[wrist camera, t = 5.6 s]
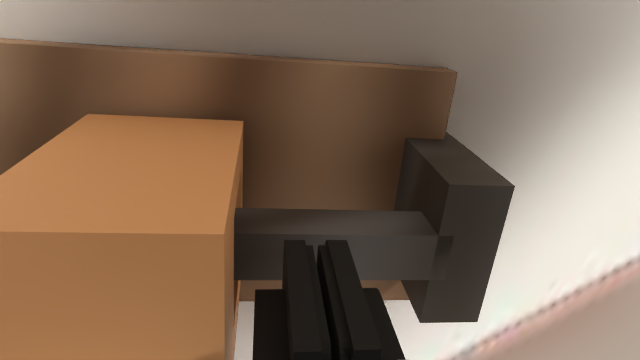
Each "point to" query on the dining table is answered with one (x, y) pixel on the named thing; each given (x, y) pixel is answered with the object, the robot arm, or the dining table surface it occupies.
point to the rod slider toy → (297, 157)
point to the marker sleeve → (122, 242)
